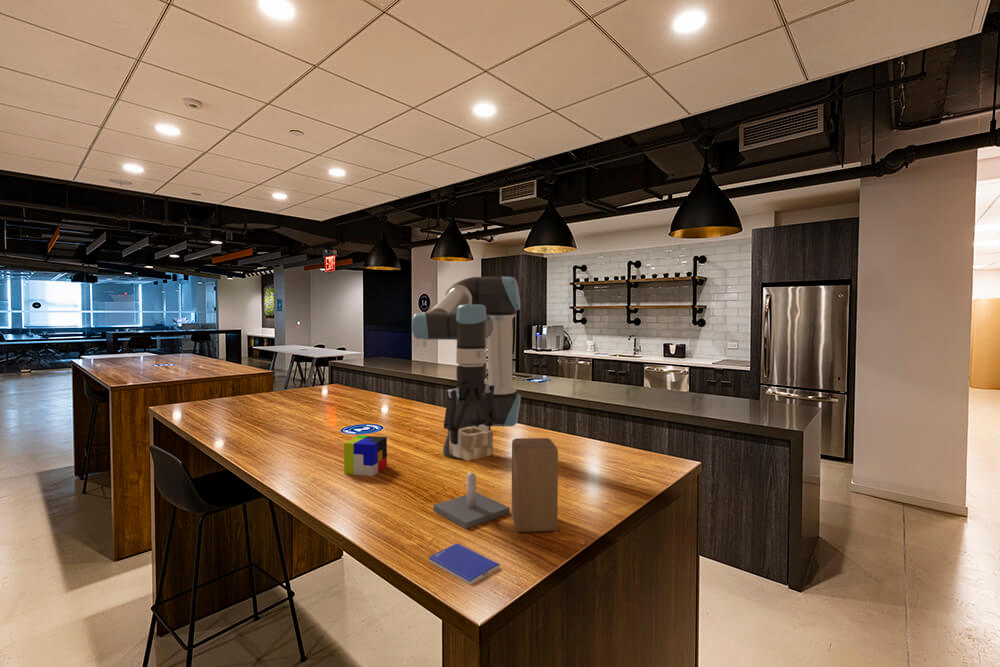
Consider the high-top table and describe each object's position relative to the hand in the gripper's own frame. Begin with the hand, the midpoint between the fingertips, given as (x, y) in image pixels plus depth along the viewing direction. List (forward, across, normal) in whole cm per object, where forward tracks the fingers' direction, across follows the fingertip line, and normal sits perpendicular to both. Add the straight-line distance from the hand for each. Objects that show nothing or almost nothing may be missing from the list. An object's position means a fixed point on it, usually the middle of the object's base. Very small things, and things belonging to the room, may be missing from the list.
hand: (471, 453), depth 121 cm
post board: (+15, 0, 0) cm, 15 cm away
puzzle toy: (+16, -6, +49) cm, 52 cm away
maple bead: (0, 0, 0) cm, 0 cm away
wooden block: (+16, +7, -16) cm, 23 cm away
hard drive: (+16, -17, -20) cm, 31 cm away
